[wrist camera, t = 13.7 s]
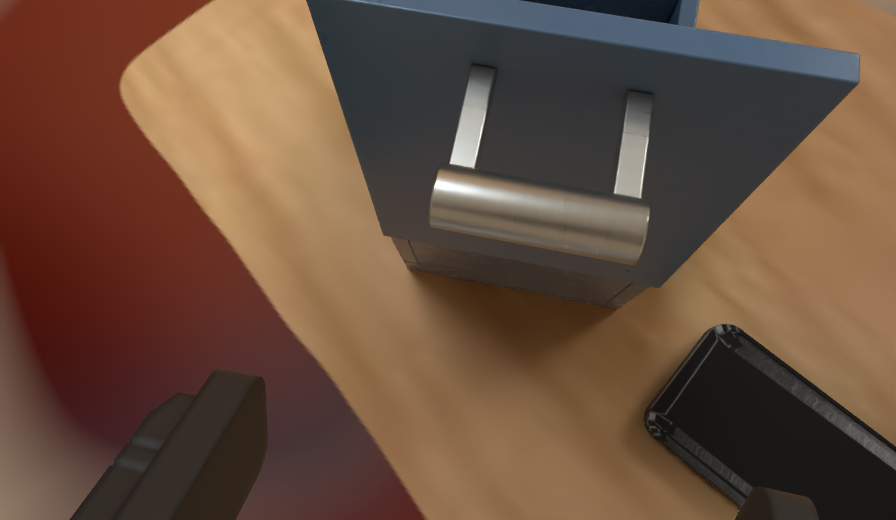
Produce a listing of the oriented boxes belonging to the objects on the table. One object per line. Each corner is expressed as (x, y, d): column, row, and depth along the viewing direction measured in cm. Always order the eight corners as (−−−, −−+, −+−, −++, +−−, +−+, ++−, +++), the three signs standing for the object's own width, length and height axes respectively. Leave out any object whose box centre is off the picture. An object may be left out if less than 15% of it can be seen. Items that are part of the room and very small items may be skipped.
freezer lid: (312, -34, 17) (249, 158, 15) (861, 52, 15) (854, 269, 14) (386, 220, 32) (359, 326, 31) (661, 271, 31) (648, 385, 30)
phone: (722, 315, 39) (958, 494, 37) (716, 317, 40) (944, 491, 38) (638, 424, 38) (875, 616, 36) (634, 424, 39) (863, 610, 37)
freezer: (459, 34, 45) (453, -61, 36) (656, 66, 44) (703, -24, 35) (407, 268, 42) (386, 230, 33) (618, 309, 41) (658, 281, 32)
